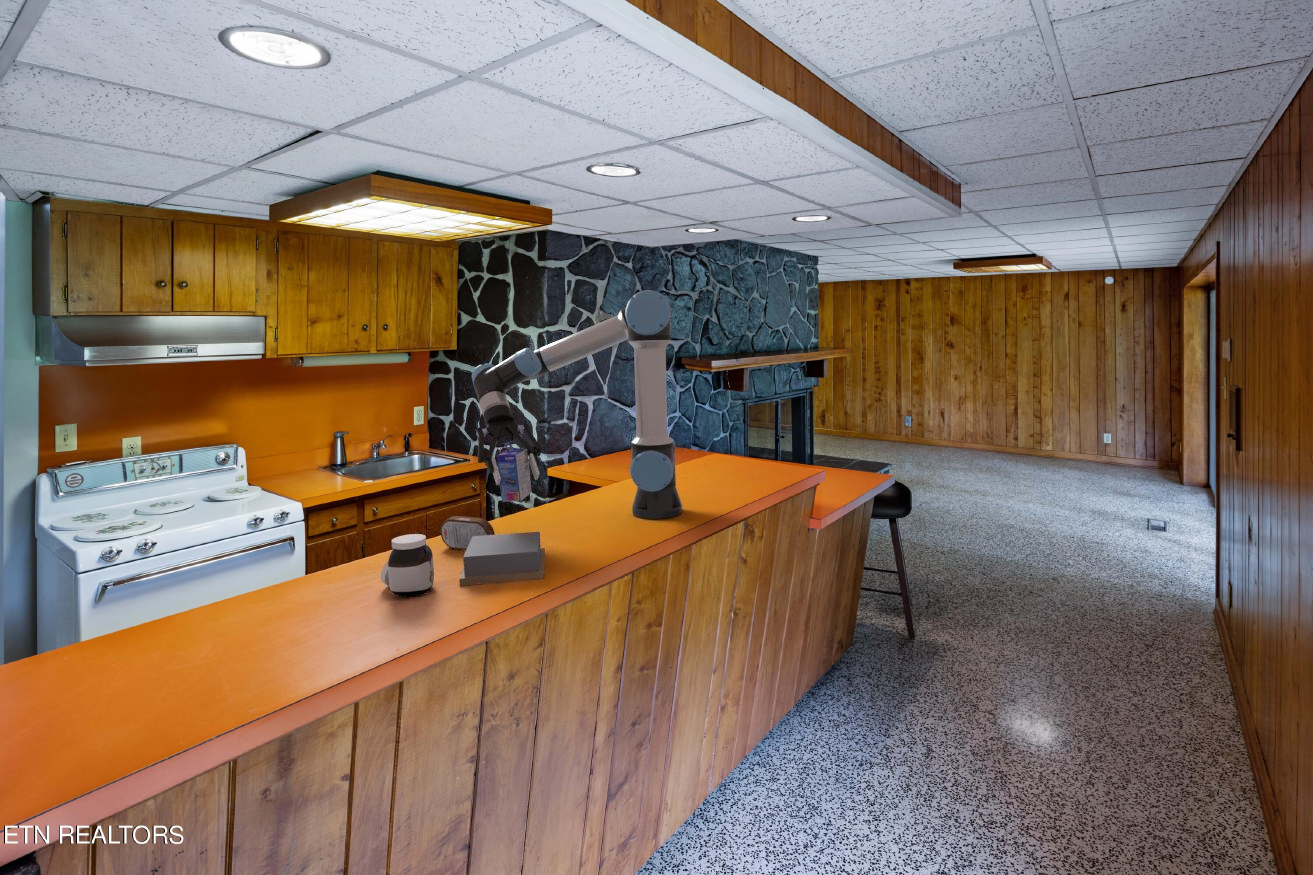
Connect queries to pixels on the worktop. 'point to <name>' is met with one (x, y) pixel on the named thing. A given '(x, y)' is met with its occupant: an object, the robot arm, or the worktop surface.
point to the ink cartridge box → (514, 474)
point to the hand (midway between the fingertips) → (518, 479)
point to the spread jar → (409, 566)
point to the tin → (463, 530)
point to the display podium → (503, 558)
